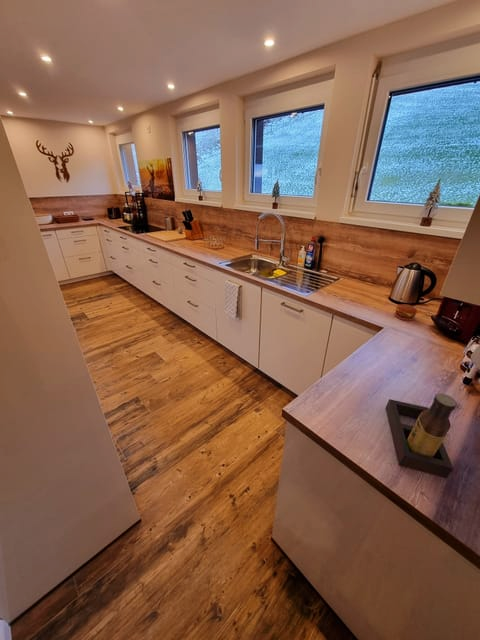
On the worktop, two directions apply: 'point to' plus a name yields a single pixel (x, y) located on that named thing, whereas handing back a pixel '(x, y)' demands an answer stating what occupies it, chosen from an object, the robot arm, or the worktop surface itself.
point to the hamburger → (405, 312)
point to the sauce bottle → (431, 426)
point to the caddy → (401, 432)
